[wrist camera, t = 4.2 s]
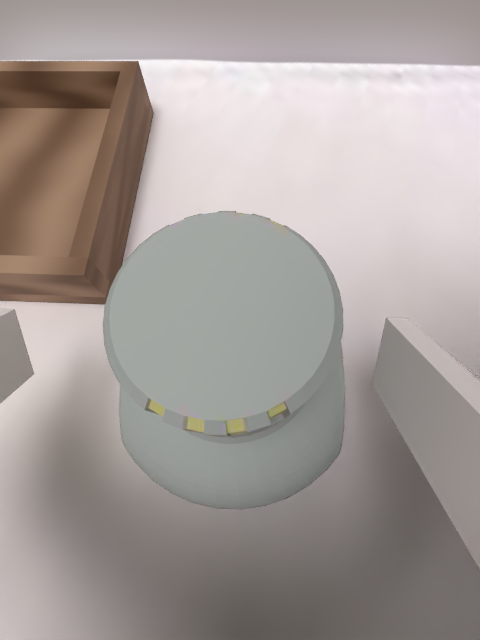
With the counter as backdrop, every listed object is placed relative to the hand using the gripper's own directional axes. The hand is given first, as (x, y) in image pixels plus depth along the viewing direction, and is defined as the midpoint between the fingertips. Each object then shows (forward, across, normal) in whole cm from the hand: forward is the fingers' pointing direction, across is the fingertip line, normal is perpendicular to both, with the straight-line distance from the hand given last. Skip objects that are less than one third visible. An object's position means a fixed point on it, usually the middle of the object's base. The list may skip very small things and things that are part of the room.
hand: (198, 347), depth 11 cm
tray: (+13, -13, +5) cm, 18 cm away
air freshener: (+4, +1, -4) cm, 6 cm away
